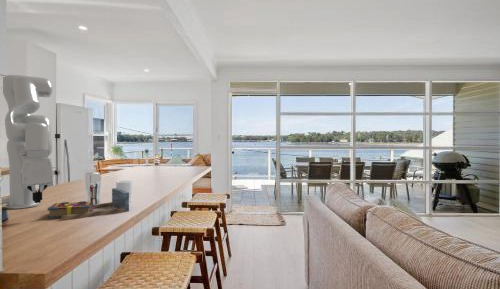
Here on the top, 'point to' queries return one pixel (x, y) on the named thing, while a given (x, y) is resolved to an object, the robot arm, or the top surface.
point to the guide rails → (118, 200)
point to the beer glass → (93, 186)
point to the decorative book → (69, 208)
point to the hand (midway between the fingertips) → (37, 202)
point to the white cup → (125, 187)
